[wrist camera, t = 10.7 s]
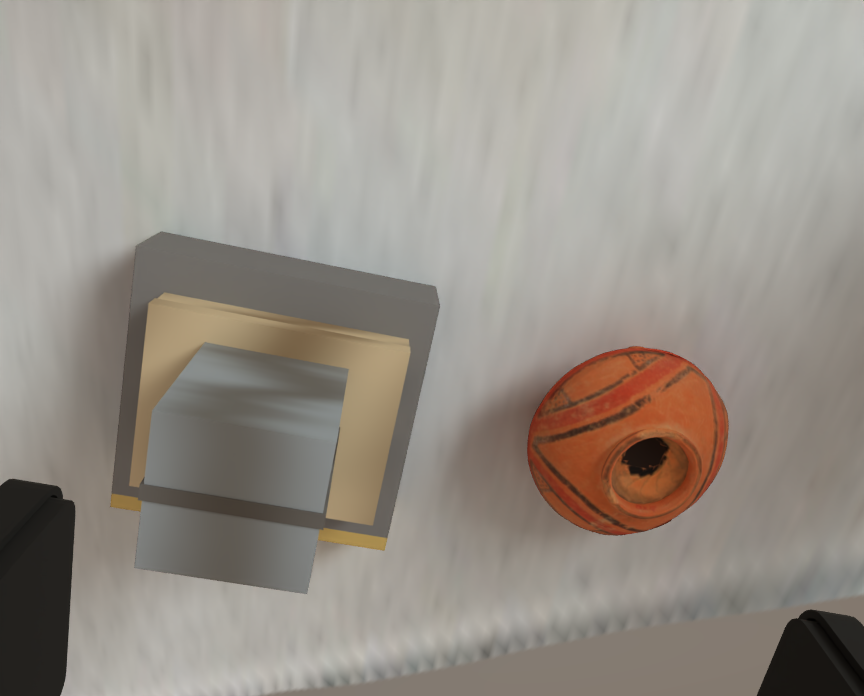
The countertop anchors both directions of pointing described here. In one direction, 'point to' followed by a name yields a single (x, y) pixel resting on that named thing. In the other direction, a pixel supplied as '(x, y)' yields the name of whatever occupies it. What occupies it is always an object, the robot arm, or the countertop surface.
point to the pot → (627, 440)
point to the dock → (291, 296)
